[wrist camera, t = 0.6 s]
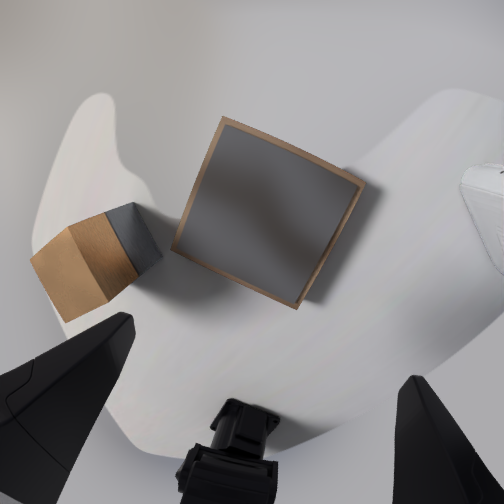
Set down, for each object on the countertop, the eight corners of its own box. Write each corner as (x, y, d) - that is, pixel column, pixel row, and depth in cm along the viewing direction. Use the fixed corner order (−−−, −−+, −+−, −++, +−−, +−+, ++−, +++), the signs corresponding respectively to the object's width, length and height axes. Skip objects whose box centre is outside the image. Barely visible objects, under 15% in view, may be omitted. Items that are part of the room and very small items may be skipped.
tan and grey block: (163, 256, 27) (108, 302, 18) (121, 278, 28) (65, 323, 20) (133, 201, 25) (67, 226, 17) (93, 229, 27) (29, 259, 18)
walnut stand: (297, 297, 26) (296, 311, 23) (180, 242, 26) (168, 251, 23) (360, 179, 22) (367, 182, 20) (229, 119, 22) (221, 115, 20)
